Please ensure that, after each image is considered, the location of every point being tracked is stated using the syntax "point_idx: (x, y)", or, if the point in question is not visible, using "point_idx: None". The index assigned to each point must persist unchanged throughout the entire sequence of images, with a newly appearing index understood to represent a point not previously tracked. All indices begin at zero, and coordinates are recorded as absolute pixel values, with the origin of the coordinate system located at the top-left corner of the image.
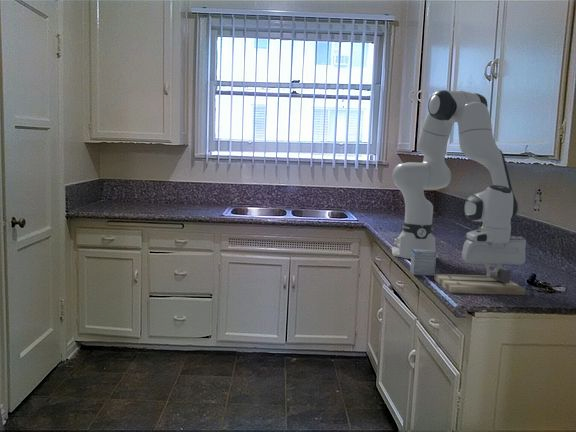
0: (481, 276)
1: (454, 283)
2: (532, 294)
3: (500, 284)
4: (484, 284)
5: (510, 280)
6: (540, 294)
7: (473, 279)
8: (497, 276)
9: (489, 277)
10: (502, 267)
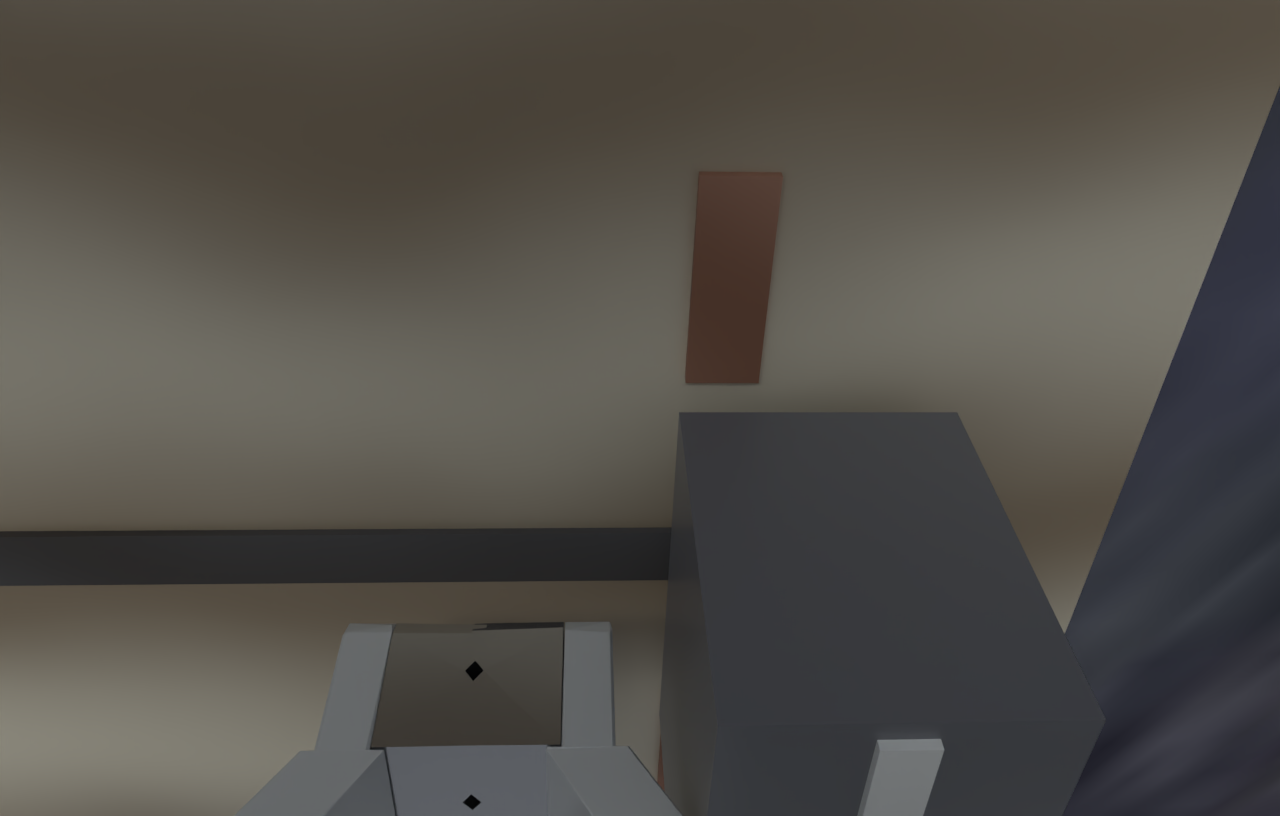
0: (391, 47)
1: None
2: (1106, 751)
3: (615, 738)
4: (231, 767)
5: (1141, 429)
6: (1258, 739)
7: (13, 444)
8: (674, 654)
9: (653, 160)
10: (948, 808)
